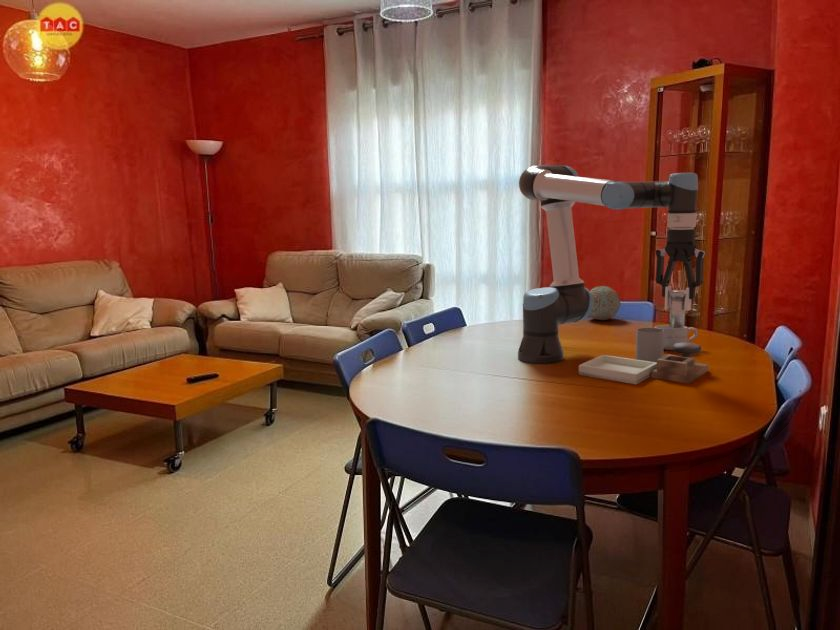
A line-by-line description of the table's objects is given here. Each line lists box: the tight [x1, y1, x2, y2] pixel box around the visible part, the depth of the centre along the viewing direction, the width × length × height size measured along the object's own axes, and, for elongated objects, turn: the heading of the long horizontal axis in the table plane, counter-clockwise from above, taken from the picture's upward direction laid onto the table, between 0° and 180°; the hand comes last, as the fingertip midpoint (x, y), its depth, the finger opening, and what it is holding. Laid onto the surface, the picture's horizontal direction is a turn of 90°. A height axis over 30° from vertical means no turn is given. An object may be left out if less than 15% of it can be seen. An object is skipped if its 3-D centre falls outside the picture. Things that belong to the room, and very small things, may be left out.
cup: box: [635, 327, 665, 362], centre depth 207 cm, size 8×8×10 cm
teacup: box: [654, 324, 698, 351], centre depth 221 cm, size 14×11×8 cm
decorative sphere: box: [589, 285, 621, 321], centre depth 276 cm, size 15×15×15 cm
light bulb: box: [668, 289, 686, 328], centre depth 184 cm, size 5×5×10 cm
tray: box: [578, 354, 657, 385], centre depth 193 cm, size 18×16×3 cm
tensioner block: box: [650, 342, 709, 384], centre depth 190 cm, size 11×17×8 cm, turn 138°
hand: (677, 308), depth 184 cm, fingers closed on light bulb, 5 cm apart
